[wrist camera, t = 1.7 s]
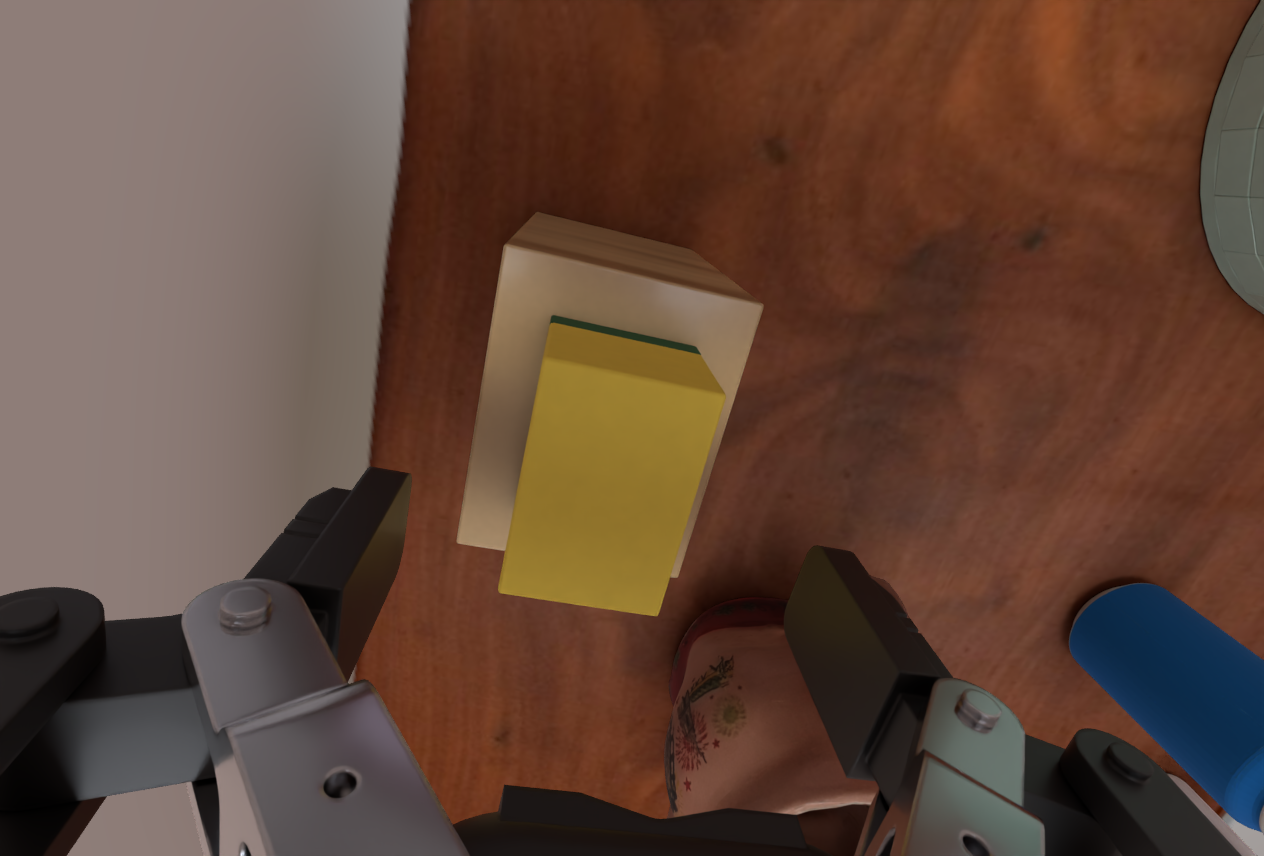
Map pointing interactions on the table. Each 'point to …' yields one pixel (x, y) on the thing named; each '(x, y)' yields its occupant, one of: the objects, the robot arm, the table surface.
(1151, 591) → the beverage can
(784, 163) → the table surface
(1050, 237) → the table surface
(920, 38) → the table surface
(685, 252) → the sponge stand
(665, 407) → the sponge
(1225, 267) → the bowl
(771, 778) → the decorative planter
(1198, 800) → the eye dropper bottle
